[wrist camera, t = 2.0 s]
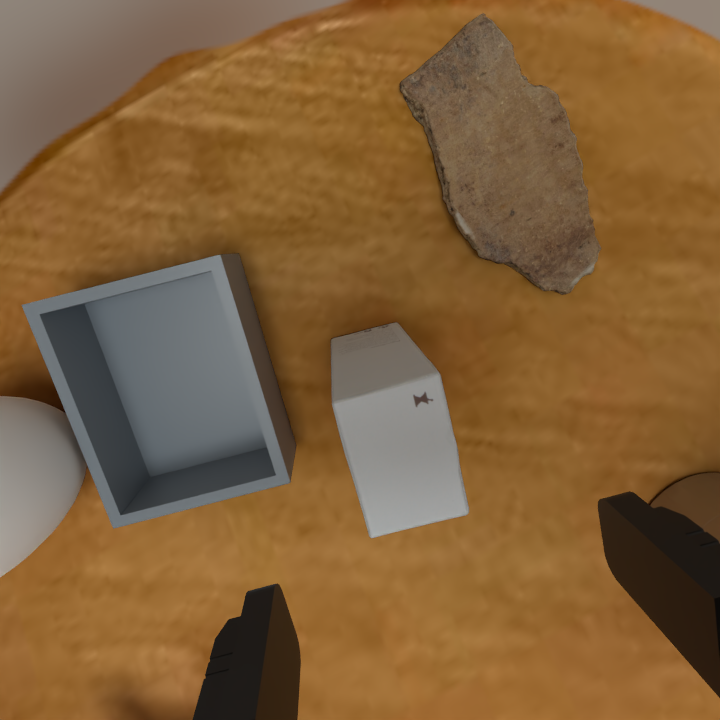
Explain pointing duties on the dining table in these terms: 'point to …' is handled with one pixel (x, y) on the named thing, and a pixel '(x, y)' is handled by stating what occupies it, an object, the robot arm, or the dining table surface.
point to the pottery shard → (505, 158)
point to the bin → (168, 388)
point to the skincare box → (395, 431)
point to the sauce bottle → (34, 475)
